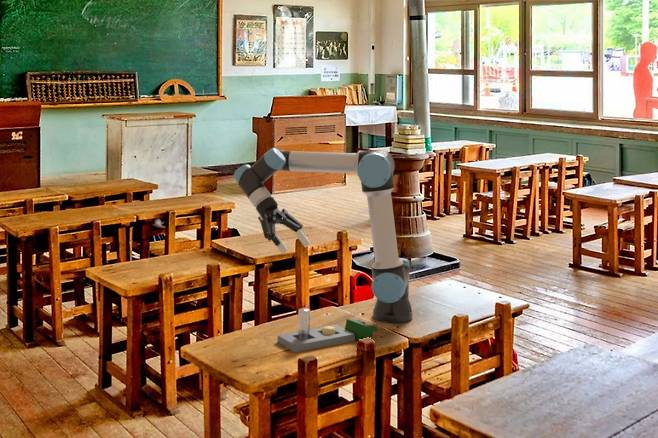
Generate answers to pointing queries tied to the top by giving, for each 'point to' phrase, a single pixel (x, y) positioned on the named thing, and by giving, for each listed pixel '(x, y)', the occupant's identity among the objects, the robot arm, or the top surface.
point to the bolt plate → (316, 338)
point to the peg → (303, 324)
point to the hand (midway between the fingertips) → (296, 248)
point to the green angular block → (360, 328)
